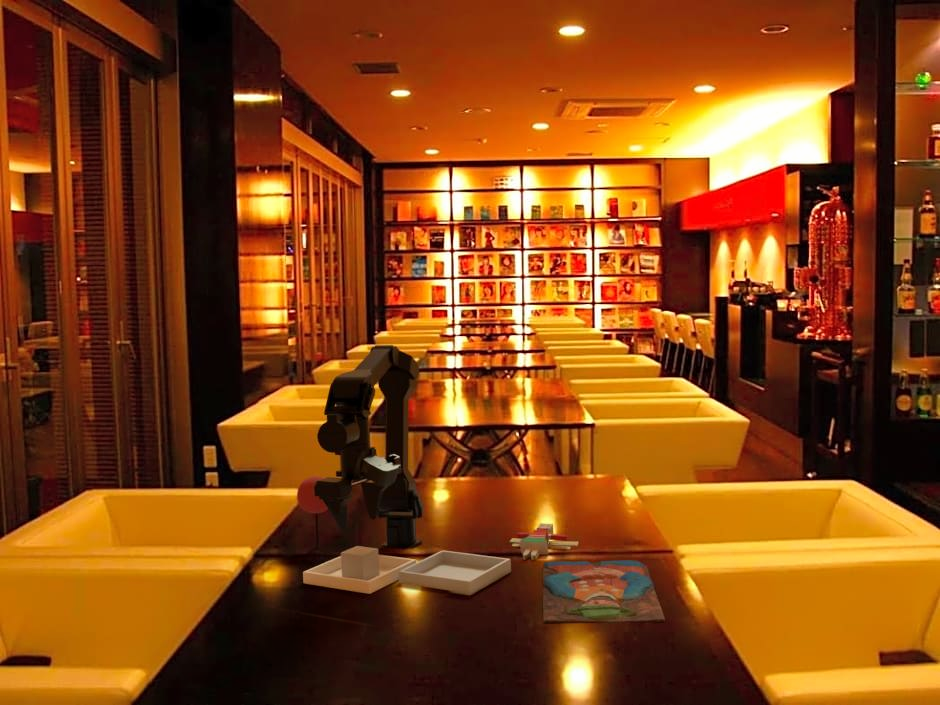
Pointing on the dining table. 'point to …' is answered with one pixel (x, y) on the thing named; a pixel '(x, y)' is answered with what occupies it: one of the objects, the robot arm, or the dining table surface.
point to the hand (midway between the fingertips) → (358, 524)
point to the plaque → (599, 592)
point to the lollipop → (311, 500)
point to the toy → (541, 542)
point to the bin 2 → (456, 572)
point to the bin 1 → (332, 577)
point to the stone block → (360, 563)
